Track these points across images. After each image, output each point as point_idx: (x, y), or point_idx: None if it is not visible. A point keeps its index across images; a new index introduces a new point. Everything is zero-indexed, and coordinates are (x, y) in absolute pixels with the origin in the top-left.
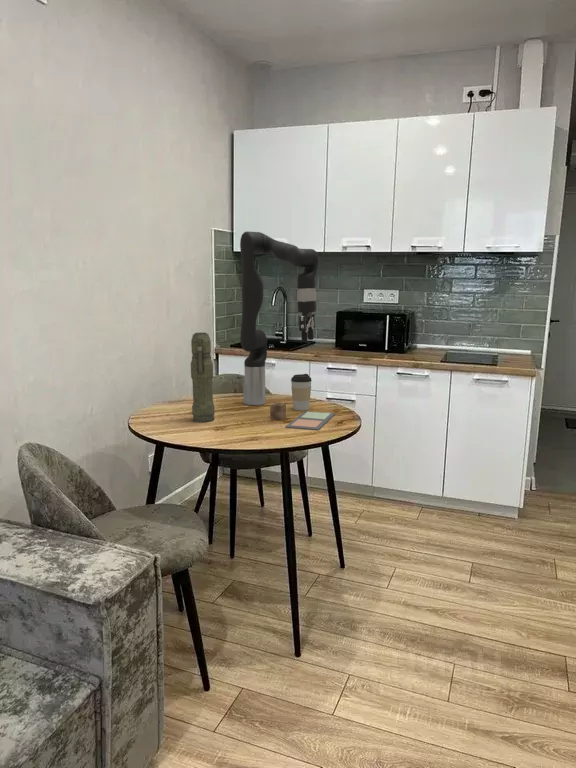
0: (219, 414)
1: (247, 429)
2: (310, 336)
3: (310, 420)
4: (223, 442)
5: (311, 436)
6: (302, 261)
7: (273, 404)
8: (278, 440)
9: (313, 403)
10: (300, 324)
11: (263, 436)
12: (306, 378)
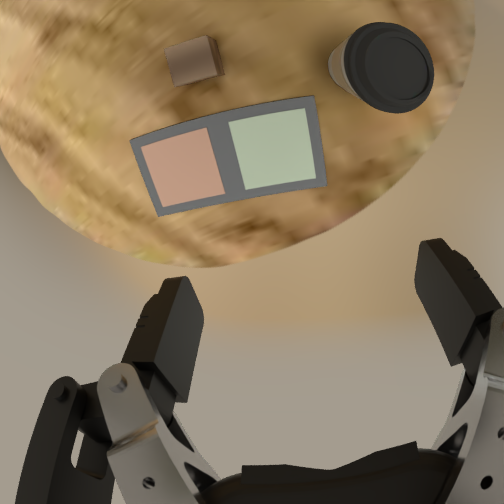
0: None
1: (74, 79)
2: (431, 288)
3: (211, 164)
4: (7, 119)
5: (116, 223)
6: None
7: (176, 52)
8: (61, 187)
9: None
10: (42, 458)
11: (59, 146)
12: (379, 99)
